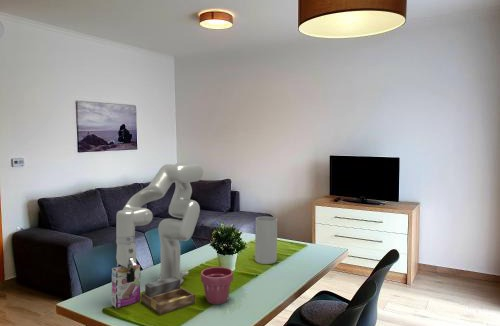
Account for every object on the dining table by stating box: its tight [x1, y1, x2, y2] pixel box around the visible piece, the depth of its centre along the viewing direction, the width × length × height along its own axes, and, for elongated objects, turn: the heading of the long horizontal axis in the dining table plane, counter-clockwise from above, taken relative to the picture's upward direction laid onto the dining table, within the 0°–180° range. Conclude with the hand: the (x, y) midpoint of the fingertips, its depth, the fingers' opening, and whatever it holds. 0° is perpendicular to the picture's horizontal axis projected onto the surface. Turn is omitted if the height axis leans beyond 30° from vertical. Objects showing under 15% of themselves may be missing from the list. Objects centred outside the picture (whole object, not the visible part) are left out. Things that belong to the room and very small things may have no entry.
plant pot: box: [200, 266, 234, 305], centre depth 174 cm, size 14×14×13 cm
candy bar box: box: [111, 263, 141, 309], centre depth 168 cm, size 11×5×16 cm, turn 134°
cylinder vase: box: [254, 215, 278, 265], centre depth 227 cm, size 12×12×25 cm
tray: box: [140, 277, 196, 316], centre depth 170 cm, size 17×16×8 cm
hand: (125, 278), depth 168 cm, fingers open, 9 cm apart
